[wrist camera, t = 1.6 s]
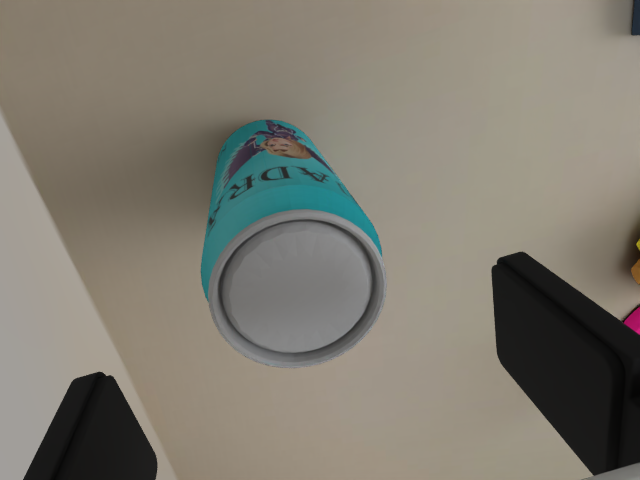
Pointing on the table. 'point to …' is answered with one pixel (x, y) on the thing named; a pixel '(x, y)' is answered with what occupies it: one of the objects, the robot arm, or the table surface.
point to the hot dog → (636, 267)
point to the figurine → (634, 321)
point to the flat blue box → (636, 18)
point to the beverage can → (288, 251)
